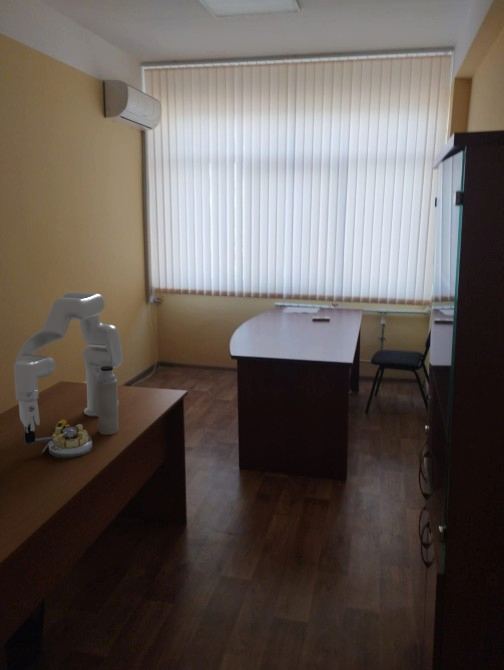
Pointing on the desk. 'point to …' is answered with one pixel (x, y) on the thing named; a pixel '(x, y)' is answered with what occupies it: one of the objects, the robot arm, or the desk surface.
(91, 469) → the desk surface
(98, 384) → the thermos bottle
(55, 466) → the desk surface
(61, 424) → the screwdriver
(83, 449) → the plate with blocky chunks
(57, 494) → the desk surface
